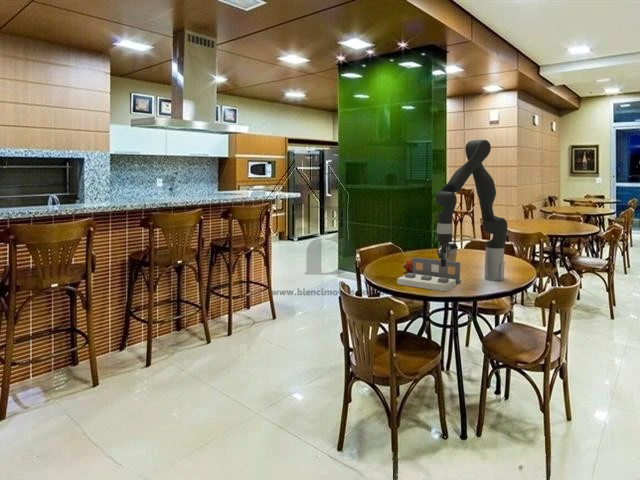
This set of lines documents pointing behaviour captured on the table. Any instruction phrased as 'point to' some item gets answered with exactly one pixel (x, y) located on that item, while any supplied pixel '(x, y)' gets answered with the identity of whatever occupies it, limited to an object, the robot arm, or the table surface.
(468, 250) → the table surface
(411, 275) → the button far
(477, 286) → the table surface
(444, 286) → the button board
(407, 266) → the dragon fruit
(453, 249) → the coffee cup
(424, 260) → the pattern sign
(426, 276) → the button middle
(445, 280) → the button near
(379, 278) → the table surface
